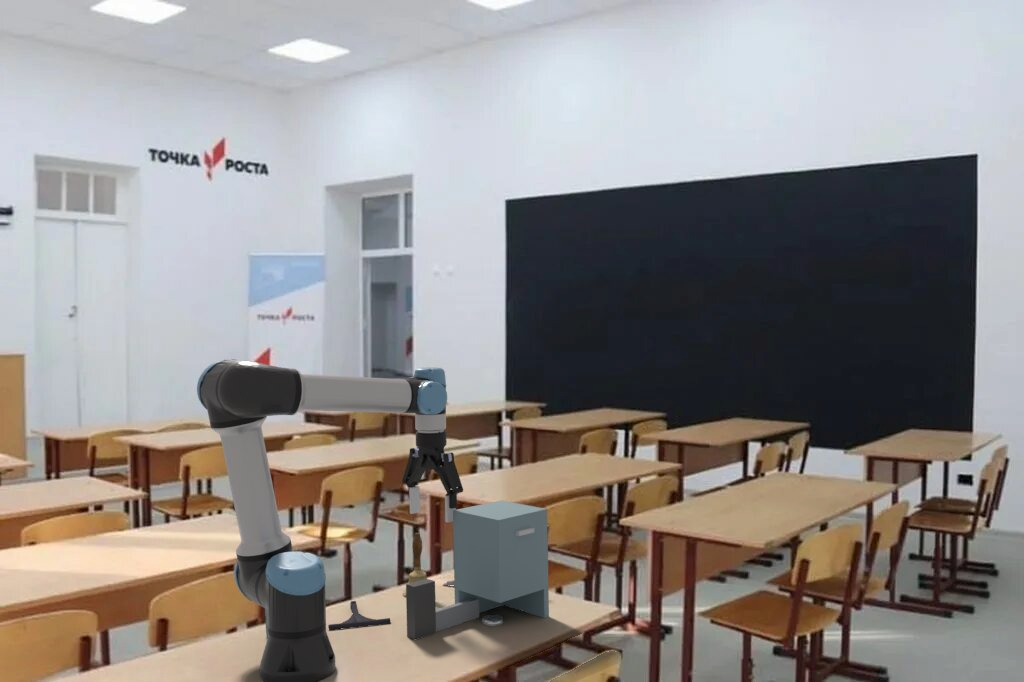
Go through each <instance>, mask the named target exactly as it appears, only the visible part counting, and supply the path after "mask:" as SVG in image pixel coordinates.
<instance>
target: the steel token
mask: <svg viewBox="0 0 1024 682" xmlns="http://www.w3.org/2000/svg"><path fill="white" fill-rule="evenodd" d="M481 623H482V625H484V626H488V627H496V626H501V625H502V624H504V617H503V616H501V615H495V614H490V615H485V616H483V617H482V618H481ZM500 624H501V625H500Z"/></svg>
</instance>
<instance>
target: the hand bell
mask: <svg viewBox="0 0 1024 682" xmlns="http://www.w3.org/2000/svg"><path fill="white" fill-rule="evenodd" d="M413 536H414V537H413V539H412V552H413V555H414V566H413V567H414V569H413V571H412V572H410V573H409V575H408V582H407V584H409V583H413V582H416V581H420V580H424V579H428V578H427V577H428V575H427V573H426V571H424V570H422V563H421V557H422V552H423V539H422V537H421V533H420V532H415V533H414V535H413ZM403 595H404V596H403ZM402 596H403V597H405V596H406V588H405V589H404V590H403V592H402Z"/></svg>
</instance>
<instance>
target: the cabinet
mask: <svg viewBox="0 0 1024 682" xmlns="http://www.w3.org/2000/svg"><path fill="white" fill-rule="evenodd" d="M452 525H453V531H452V532H453V572H454V574H453V575H454V576H453V578H454V579H453V580H454V586H453V587H454V604H456V603H460V602H463V601H466V600H469V599H473V598H477V599H479V612H480V613H482V612H486V611H490V610H492V608H493V609H496V608H498V606H499V607H502V606H504V605H505V607H507V606H509V607H508V608H511V607H512V608H511V609H514V608H515V609H514V610H517V609H518V611H520V610H523V611H525V612H524V613H527V612H528V613H527V614H530V613H531V614H530V615H533V614H534V616H537V617H540V618H543V619H546V618H549V617H550V605H549V604H550V603H549V602H550V599H549V594H550V593H549V552H548V551H549V545H548V543H549V542H548V541H549V540H548V535H549V534H548V509H547V508H543V507H538V506H534V505H527V504H523V503H517V502H511V501H508V500H507V501H506V500H497V501H492V502H488V503H487V502H486V503H483V504H478V505H473V506H469V507H464V508H459V509H456V510H453V521H452ZM501 605H502V606H501ZM495 607H496V608H495ZM523 611H522V612H523Z"/></svg>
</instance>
